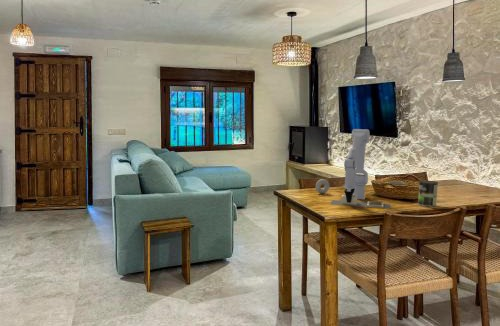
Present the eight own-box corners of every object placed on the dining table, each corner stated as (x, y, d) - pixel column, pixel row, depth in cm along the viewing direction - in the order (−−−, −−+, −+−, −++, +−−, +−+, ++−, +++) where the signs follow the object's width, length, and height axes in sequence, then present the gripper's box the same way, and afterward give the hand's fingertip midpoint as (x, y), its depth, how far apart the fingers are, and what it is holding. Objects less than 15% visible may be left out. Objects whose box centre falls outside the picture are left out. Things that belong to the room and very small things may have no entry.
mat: (332, 200, 262) (332, 199, 262) (390, 204, 252) (390, 204, 252) (330, 205, 249) (330, 204, 249) (390, 209, 240) (390, 208, 240)
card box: (341, 203, 251) (341, 195, 251) (341, 201, 256) (342, 194, 256) (356, 204, 249) (356, 197, 248) (357, 203, 254) (357, 195, 253)
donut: (316, 194, 281) (317, 179, 280) (314, 193, 285) (314, 178, 283) (330, 193, 284) (330, 179, 283) (327, 192, 287) (328, 178, 286)
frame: (367, 202, 256) (367, 200, 256) (383, 203, 253) (383, 201, 253) (367, 206, 243) (367, 205, 243) (383, 208, 241) (383, 206, 241)
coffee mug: (407, 199, 269) (408, 183, 268) (393, 199, 267) (394, 184, 266) (395, 195, 282) (396, 180, 281) (381, 195, 280) (382, 180, 279)
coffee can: (425, 207, 246) (426, 183, 245) (414, 203, 256) (415, 180, 254) (440, 206, 249) (441, 182, 247) (428, 202, 259) (430, 180, 257)
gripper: (344, 176, 259) (343, 198, 260) (342, 180, 245) (341, 203, 247) (356, 177, 257) (355, 199, 258) (354, 181, 243) (353, 204, 245)
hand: (349, 201), depth 252 cm, fingers closed on card box, 5 cm apart
